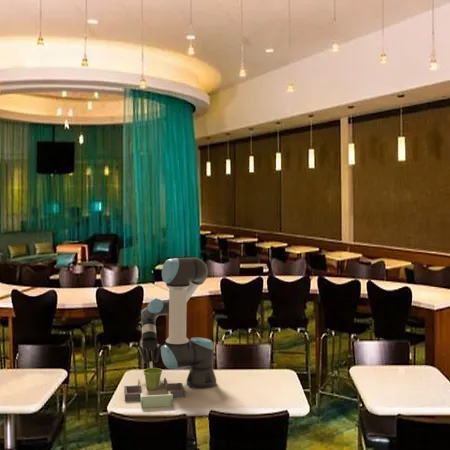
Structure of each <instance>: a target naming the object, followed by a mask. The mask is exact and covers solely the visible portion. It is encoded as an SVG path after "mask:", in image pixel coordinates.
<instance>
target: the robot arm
mask: <svg viewBox="0 0 450 450" xmlns="http://www.w3.org/2000/svg"><path fill="white" fill-rule="evenodd" d="M208 273H209V270H208V266H207V265H206V263H205V262H204V261H203V260H202V259H201V258H199V257H193V256H192V257H174V258H169V259H166V260H165V262H164V263H163V265H162V269H161V279H162V281H163V283H165V286H166V287H167V288H168V293H169V294H168V295H169V297H168V300H165V301H164V300H163V301H162V300H161V299H160V298H157V297H156V298H155V297H154V298H152V299H151V300H150V301H149V303H148V304H147V306H146V307H145V308H143V309H142V310H141V313H140V317H141V319H140V320H141V338H142V342H141V344H139V345H137V349H138V351H139V353H140V356H141V359H142V362H143V364H146V369H148V368H156V367H155V366H156V365H155V364H157V363H158V361H159V357H160V355H161V359H162V363H163V364H164V366H165V368H167V369H169V370H170V369H179V368H186V367H189V372H188V374H187V378H186V386H188V387H189V388H192V389H200V390H201V389H202V390H203V389H211V388H214V387H216V385H217V378H216V375H215V370H214V343H213V341H212V339H209V338H206V337H205V338H204V337H194V336H193V337H191V338H190V339H189V338H188V337H187V307H188V304H187V303H188V301H189V300H190V298H191V297H192V296H193V295H194V293H195V291H197V289H198V287H199V286H200V285H203V284H204V282H205V281H206V280H207V278H208V275H209V274H208ZM167 315H168V337H167V338H166V339H165V344H163V345H162V343H160V344H159V342H158V340H157V339H158V338H157V326H156V321H157V318H159V316H167ZM143 348H144V349H145V350H143ZM156 348H157V349H156ZM155 349H156V355H155ZM144 351H145V352H146V354H145V352H144ZM150 352H151V353H150ZM150 354H151V361H150ZM145 355H146V356H145Z"/></svg>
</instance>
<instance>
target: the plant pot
mask: <svg viewBox="0 0 450 450" xmlns="http://www.w3.org/2000/svg"><path fill="white" fill-rule="evenodd" d="M142 372H143V375H144V378H145V379H144V380H145V385H146V386H145V387H146V389H148V390H149V391H150V390H152V391H153V390H158V389H159V388H160V382H161V376H162V372H163V369H162V368H158V367H155V368H148V369H147V368H145V369H144V370H142Z"/></svg>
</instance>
